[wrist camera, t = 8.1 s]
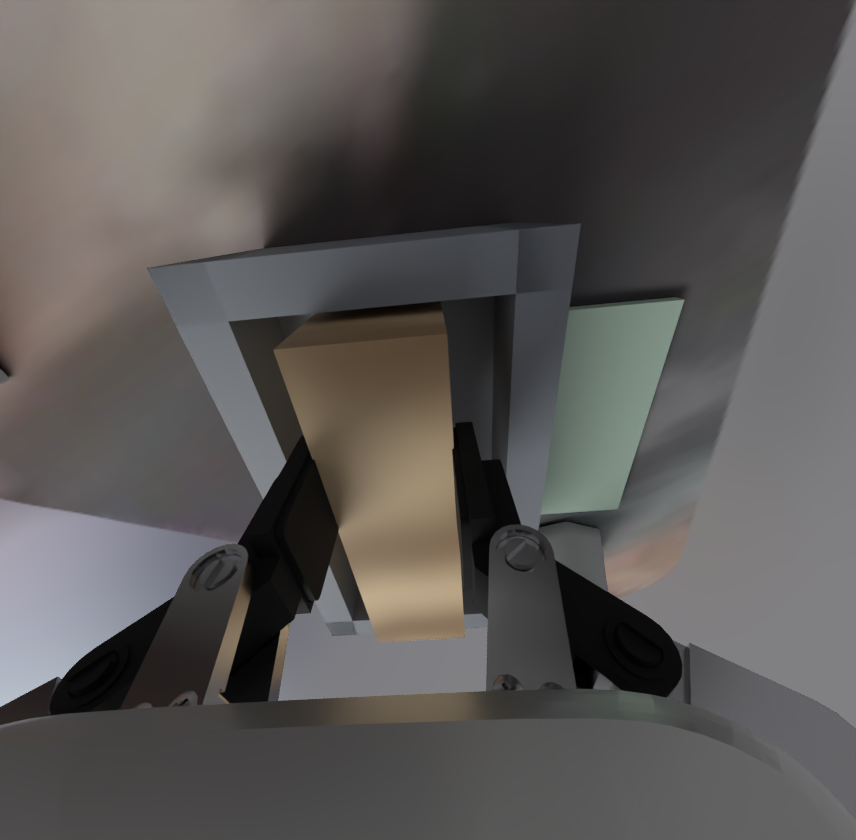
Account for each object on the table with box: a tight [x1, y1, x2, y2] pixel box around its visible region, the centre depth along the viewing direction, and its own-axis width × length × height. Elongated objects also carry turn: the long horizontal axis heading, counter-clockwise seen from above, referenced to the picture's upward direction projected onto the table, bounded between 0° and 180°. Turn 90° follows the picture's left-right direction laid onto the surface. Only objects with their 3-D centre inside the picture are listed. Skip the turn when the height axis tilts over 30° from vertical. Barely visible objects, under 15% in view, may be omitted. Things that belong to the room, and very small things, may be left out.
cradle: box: [147, 222, 581, 636], centre depth 16 cm, size 19×11×7 cm, turn 5°
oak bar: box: [273, 301, 465, 642], centre depth 13 cm, size 14×4×5 cm, turn 5°
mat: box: [541, 297, 684, 514], centre depth 19 cm, size 14×8×1 cm, turn 5°
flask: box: [538, 522, 608, 592], centre depth 21 cm, size 7×7×10 cm
